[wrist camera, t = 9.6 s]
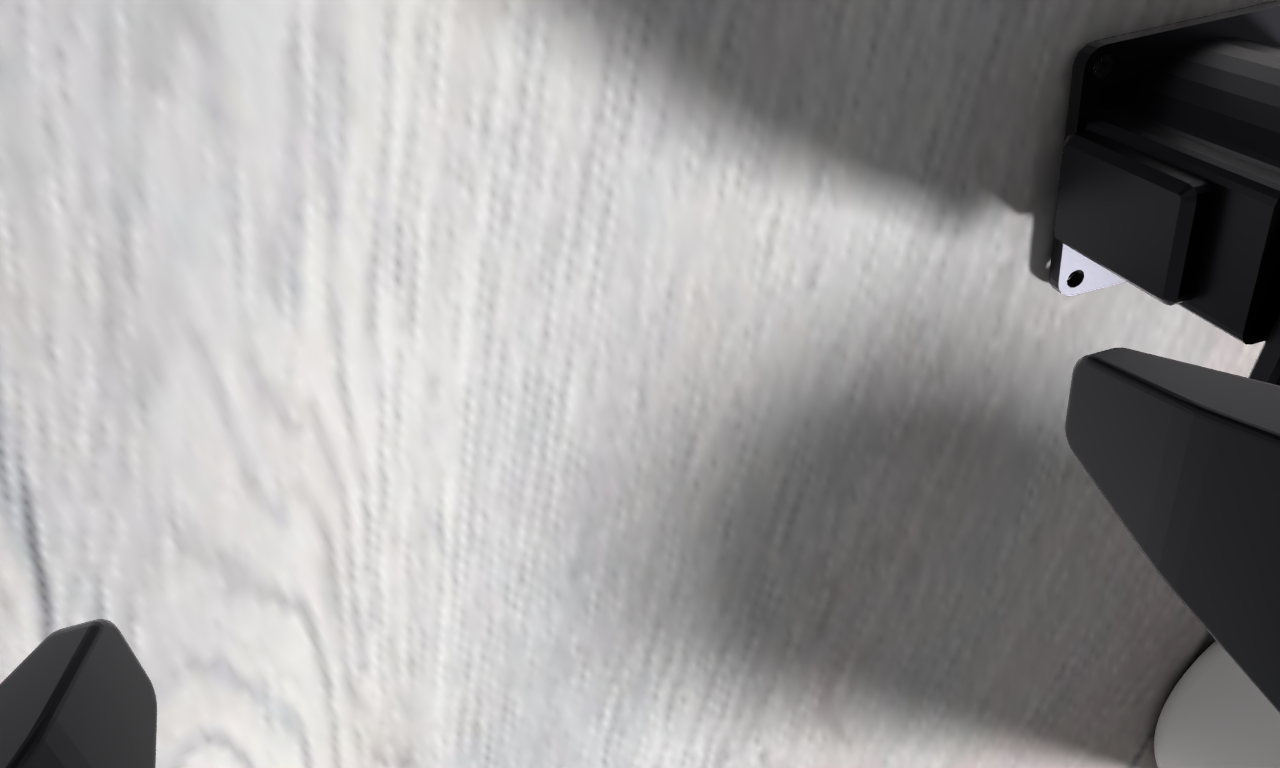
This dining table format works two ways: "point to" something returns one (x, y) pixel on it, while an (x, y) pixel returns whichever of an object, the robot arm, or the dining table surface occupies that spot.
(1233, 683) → the cylinder vase
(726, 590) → the dining table surface
